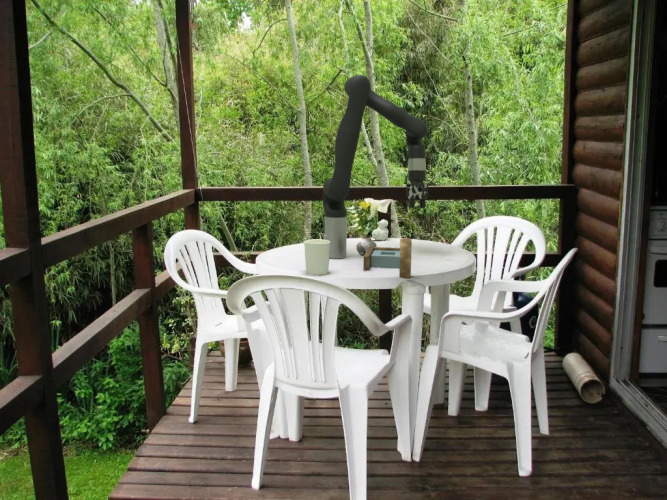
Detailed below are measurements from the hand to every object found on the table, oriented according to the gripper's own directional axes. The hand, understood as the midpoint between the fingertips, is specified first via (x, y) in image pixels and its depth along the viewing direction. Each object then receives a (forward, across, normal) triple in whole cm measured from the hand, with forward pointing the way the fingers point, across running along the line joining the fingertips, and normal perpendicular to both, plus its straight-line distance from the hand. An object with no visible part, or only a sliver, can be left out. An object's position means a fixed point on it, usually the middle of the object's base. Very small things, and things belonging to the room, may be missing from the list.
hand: (417, 207), depth 279 cm
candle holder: (+23, +14, -52) cm, 59 cm away
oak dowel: (+24, +33, -25) cm, 48 cm away
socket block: (+22, +12, -21) cm, 33 cm away
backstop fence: (+22, +14, -22) cm, 34 cm away
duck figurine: (+16, -40, +3) cm, 43 cm away
